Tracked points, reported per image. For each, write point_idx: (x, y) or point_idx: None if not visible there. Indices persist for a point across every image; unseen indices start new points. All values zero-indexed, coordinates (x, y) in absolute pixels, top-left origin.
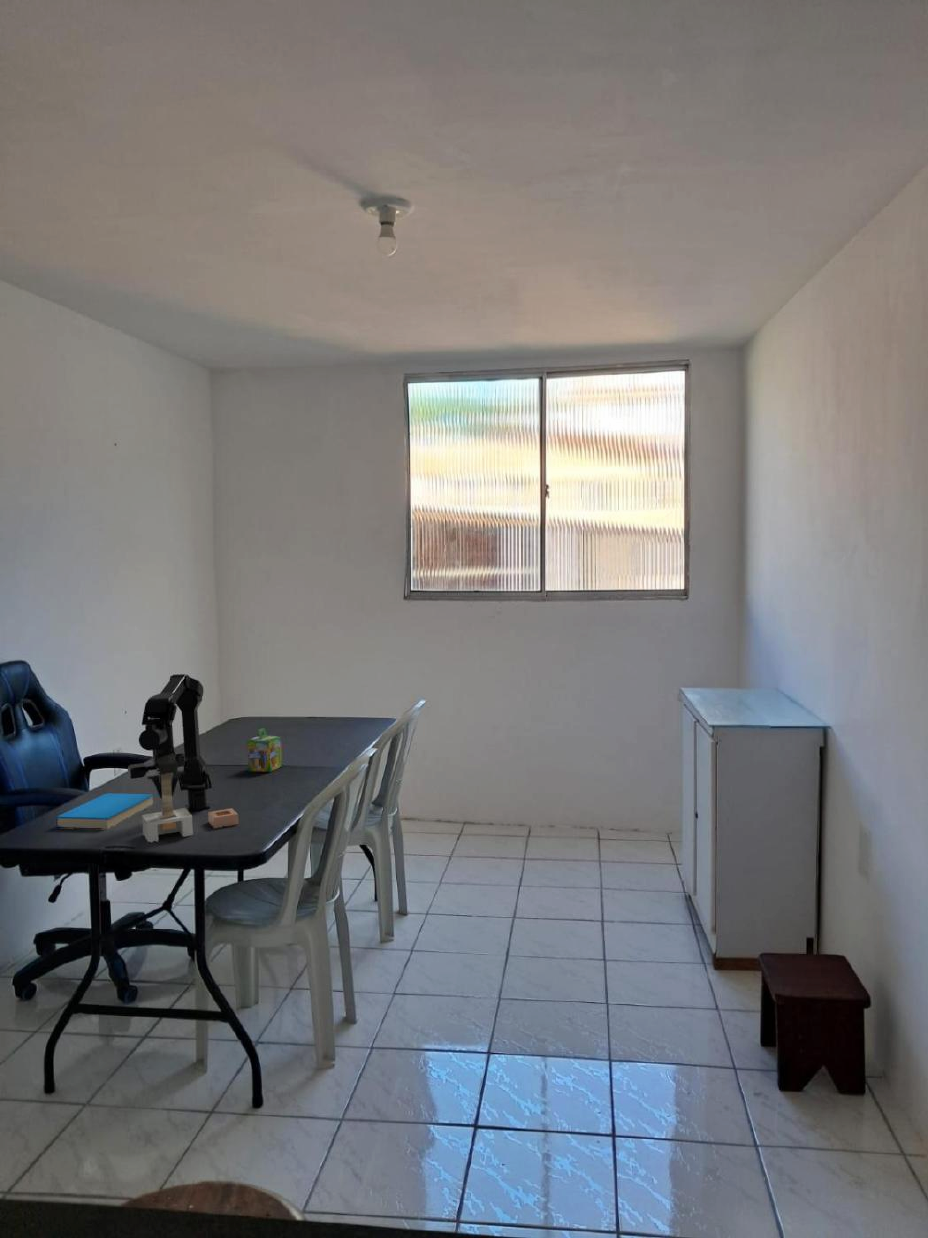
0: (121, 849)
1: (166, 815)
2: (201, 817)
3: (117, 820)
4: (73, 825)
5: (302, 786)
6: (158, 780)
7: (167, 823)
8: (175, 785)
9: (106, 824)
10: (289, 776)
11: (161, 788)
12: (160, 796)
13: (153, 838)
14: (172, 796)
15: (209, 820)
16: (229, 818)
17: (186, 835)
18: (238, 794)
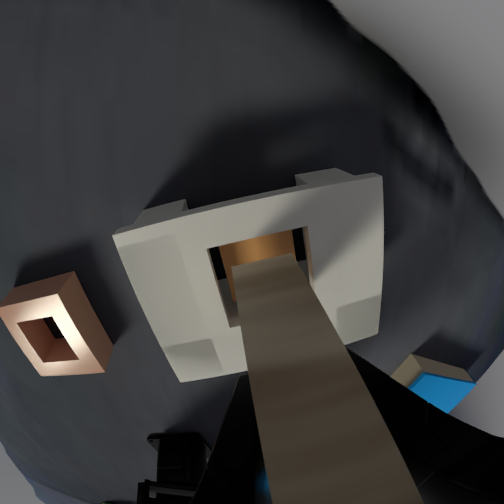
0: (421, 137)
1: (275, 259)
2: (152, 393)
3: None
4: (454, 370)
5: (20, 449)
6: (461, 476)
7: (262, 236)
8: (211, 466)
9: (418, 362)
10: (68, 484)
11: (375, 417)
12: (354, 357)
13: (320, 174)
14: (242, 375)
15: (103, 341)
16: (19, 296)
17: (170, 204)
18: (114, 469)
